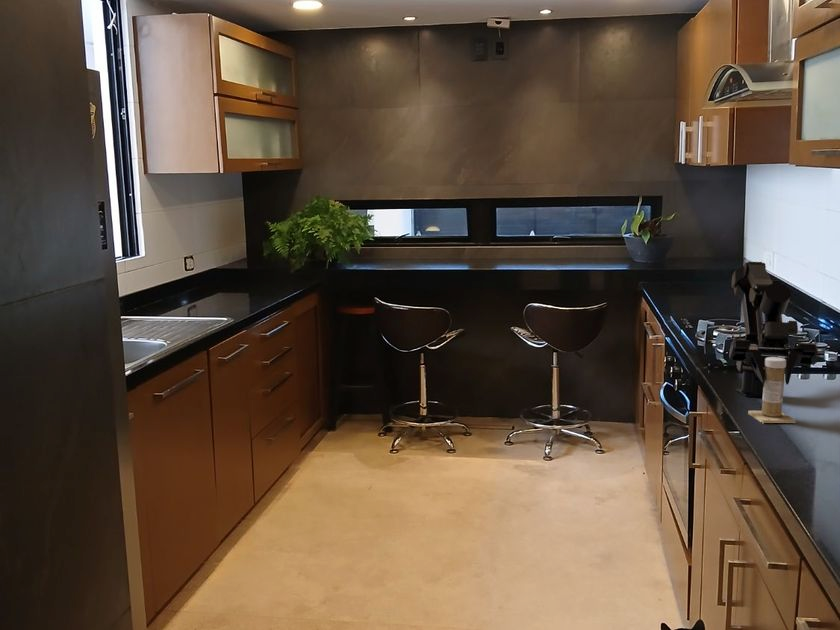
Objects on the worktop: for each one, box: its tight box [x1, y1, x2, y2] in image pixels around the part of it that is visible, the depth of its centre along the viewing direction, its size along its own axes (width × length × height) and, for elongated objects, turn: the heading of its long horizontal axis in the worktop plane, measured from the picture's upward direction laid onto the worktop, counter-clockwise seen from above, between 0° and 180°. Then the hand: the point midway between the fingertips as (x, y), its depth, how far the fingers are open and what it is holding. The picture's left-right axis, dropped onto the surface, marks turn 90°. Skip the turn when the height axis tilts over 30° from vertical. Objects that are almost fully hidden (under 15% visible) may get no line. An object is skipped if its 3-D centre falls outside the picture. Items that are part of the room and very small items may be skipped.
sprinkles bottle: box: [760, 356, 787, 417], centre depth 194 cm, size 5×5×14 cm
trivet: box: [747, 410, 797, 425], centre depth 195 cm, size 8×8×1 cm
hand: (775, 382), depth 192 cm, fingers open, 5 cm apart
